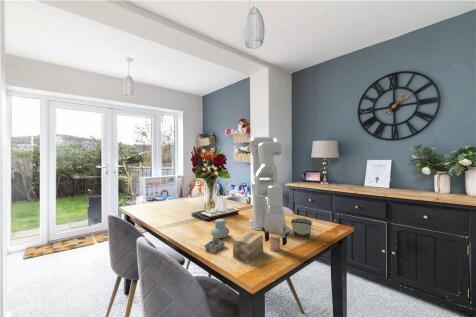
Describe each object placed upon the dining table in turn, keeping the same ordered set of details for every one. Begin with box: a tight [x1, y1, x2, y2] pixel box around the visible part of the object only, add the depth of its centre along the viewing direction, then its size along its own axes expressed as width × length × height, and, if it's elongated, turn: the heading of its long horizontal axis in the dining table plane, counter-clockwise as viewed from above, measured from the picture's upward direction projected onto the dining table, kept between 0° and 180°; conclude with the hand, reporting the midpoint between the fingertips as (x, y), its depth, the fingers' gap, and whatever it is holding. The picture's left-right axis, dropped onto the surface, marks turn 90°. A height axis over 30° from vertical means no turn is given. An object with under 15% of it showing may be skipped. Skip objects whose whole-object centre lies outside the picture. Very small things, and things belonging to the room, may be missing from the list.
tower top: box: [232, 231, 264, 253], centre depth 109 cm, size 9×13×4 cm
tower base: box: [232, 243, 264, 263], centre depth 110 cm, size 9×13×4 cm
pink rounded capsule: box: [269, 235, 281, 252], centre depth 115 cm, size 5×5×6 cm
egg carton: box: [203, 237, 226, 253], centre depth 118 cm, size 11×8×4 cm
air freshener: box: [210, 218, 230, 239], centre depth 134 cm, size 11×8×10 cm
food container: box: [290, 217, 313, 240], centre depth 132 cm, size 12×6×10 cm, turn 59°
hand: (275, 242), depth 115 cm, fingers open, 9 cm apart
